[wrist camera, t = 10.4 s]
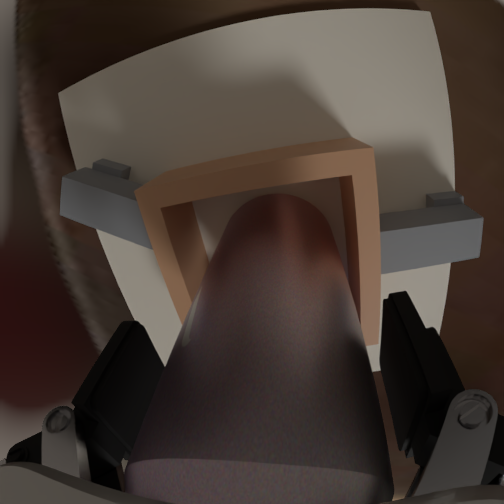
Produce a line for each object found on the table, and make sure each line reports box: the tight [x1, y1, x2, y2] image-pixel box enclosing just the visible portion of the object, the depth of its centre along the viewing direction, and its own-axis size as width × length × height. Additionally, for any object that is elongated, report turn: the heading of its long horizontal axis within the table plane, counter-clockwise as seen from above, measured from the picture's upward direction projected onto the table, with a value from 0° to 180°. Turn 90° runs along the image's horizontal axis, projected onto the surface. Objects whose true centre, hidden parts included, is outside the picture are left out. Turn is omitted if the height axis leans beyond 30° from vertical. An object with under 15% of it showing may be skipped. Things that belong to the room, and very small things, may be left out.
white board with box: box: [58, 8, 483, 372], centre depth 16 cm, size 22×24×5 cm
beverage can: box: [124, 194, 394, 504], centre depth 11 cm, size 6×6×15 cm
